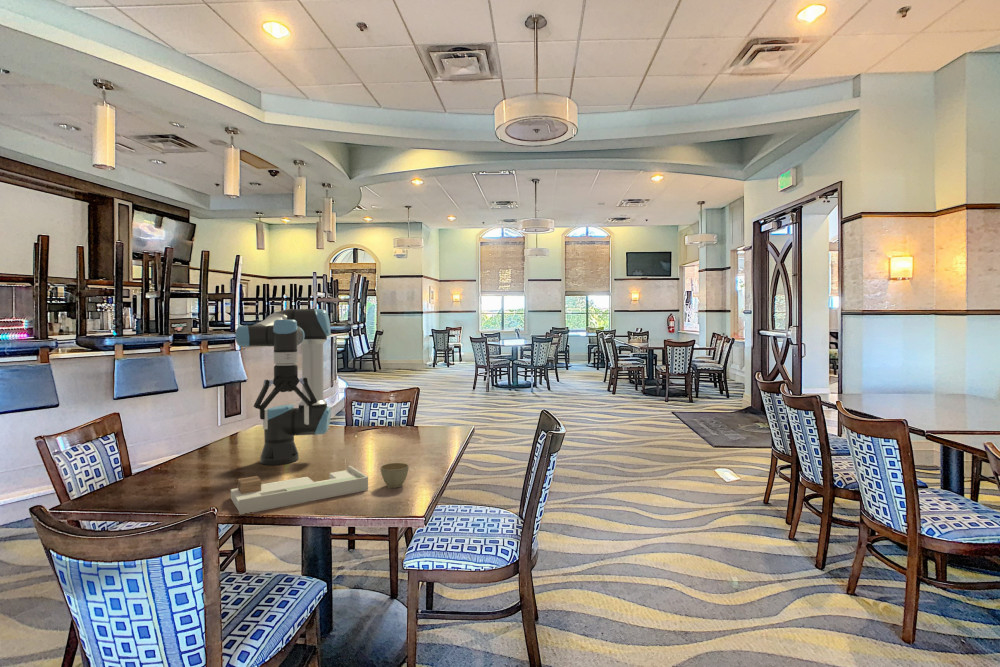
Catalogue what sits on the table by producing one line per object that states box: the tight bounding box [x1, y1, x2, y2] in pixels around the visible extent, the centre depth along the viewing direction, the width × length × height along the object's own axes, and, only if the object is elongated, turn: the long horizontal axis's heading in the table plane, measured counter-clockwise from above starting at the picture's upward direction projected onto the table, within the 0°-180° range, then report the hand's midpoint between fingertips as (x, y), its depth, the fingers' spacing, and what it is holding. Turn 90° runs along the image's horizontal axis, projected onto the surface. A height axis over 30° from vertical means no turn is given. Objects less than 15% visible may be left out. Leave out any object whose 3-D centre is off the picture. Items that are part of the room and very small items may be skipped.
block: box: [237, 475, 262, 494], centre depth 176 cm, size 6×6×4 cm
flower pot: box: [380, 462, 410, 489], centre depth 190 cm, size 10×10×7 cm
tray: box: [230, 465, 369, 516], centre depth 181 cm, size 19×41×4 cm, turn 125°
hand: (286, 426), depth 181 cm, fingers open, 13 cm apart
